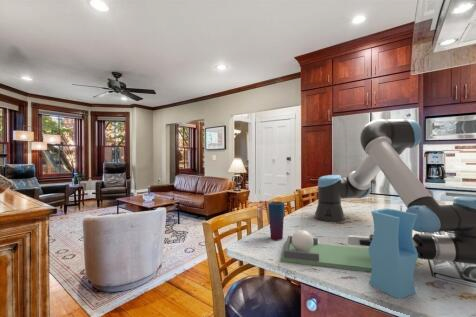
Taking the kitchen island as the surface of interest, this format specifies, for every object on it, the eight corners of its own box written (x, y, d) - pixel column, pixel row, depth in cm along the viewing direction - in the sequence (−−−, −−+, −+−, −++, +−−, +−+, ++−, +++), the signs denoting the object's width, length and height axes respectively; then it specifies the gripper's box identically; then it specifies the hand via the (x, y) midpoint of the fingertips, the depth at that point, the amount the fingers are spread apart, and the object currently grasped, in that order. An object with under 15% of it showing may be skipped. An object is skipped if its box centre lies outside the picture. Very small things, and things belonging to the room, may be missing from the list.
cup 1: (274, 234, 105) (274, 200, 105) (287, 237, 101) (287, 202, 100) (265, 238, 101) (264, 203, 100) (278, 242, 96) (278, 205, 95)
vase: (397, 299, 58) (398, 218, 57) (368, 283, 65) (368, 211, 64) (417, 291, 61) (418, 214, 60) (387, 277, 68) (387, 208, 67)
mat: (382, 252, 84) (382, 249, 84) (398, 275, 69) (398, 271, 69) (285, 243, 94) (285, 240, 94) (281, 261, 79) (281, 257, 79)
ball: (295, 228, 89) (303, 247, 88) (284, 236, 84) (292, 256, 83) (312, 225, 84) (320, 245, 83) (301, 233, 79) (310, 255, 78)
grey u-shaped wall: (317, 244, 90) (317, 238, 90) (319, 261, 76) (318, 254, 76) (288, 241, 93) (288, 235, 93) (284, 257, 79) (284, 250, 79)
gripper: (442, 268, 67) (351, 258, 74) (422, 250, 79) (345, 243, 86) (442, 242, 67) (351, 235, 74) (422, 228, 79) (345, 223, 86)
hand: (348, 239), depth 80 cm, fingers closed
